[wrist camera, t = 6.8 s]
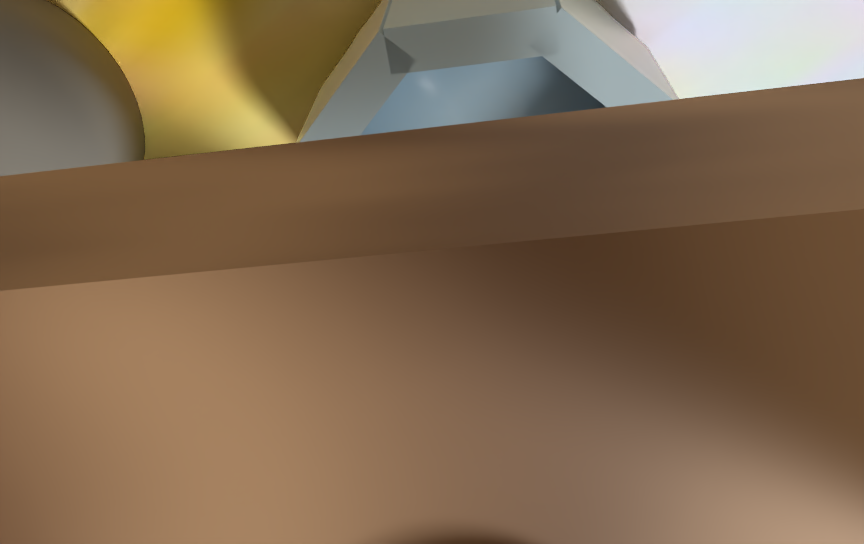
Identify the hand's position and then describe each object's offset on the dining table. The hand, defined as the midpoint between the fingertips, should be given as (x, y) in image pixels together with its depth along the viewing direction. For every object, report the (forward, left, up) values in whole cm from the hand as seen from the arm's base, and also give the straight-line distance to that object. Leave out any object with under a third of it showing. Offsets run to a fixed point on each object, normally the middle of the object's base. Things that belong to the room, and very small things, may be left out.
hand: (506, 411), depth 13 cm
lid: (0, 0, +2) cm, 2 cm away
